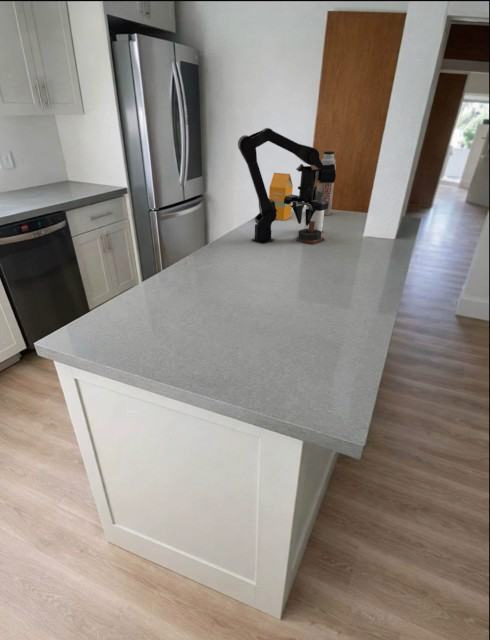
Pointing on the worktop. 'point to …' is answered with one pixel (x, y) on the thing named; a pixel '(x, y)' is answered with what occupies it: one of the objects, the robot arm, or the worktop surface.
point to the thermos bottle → (327, 187)
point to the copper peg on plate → (311, 230)
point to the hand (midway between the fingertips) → (303, 224)
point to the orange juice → (281, 194)
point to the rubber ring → (306, 236)
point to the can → (318, 219)
